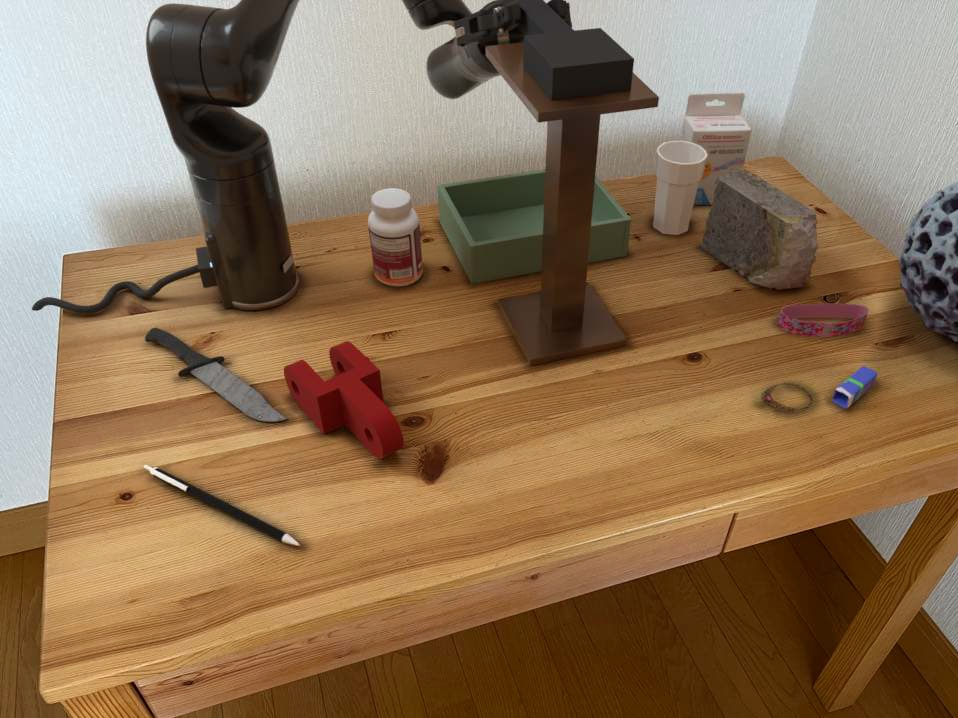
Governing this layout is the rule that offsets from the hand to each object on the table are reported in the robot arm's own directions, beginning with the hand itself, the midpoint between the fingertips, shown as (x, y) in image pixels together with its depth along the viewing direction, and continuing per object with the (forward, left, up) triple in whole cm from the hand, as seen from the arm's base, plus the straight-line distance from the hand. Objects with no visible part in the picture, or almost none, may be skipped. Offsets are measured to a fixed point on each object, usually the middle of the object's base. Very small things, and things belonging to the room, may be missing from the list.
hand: (539, 9), depth 88 cm
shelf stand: (0, -9, -33) cm, 34 cm away
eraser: (+26, -31, -32) cm, 52 cm away
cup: (+23, +6, -33) cm, 41 cm away
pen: (-40, -27, -33) cm, 59 cm away
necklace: (+19, -31, -33) cm, 49 cm away
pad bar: (0, -4, -3) cm, 5 cm away
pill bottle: (-16, +5, -33) cm, 37 cm away
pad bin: (+3, +8, -33) cm, 34 cm away
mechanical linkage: (-27, -19, -33) cm, 46 cm away
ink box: (+31, +11, -33) cm, 47 cm away
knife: (-42, -9, -32) cm, 54 cm away
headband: (+31, -21, -29) cm, 47 cm away
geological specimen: (+27, +1, -28) cm, 38 cm away
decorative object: (+48, -29, -32) cm, 65 cm away
